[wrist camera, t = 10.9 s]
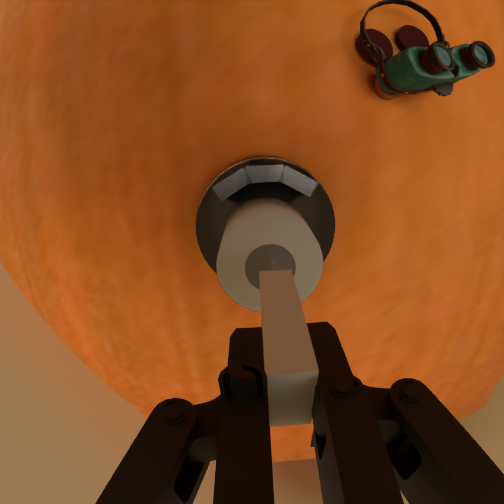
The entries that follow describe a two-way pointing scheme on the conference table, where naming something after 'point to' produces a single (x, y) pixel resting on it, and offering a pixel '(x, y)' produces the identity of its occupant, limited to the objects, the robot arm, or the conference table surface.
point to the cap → (266, 249)
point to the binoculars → (419, 58)
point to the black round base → (258, 183)
